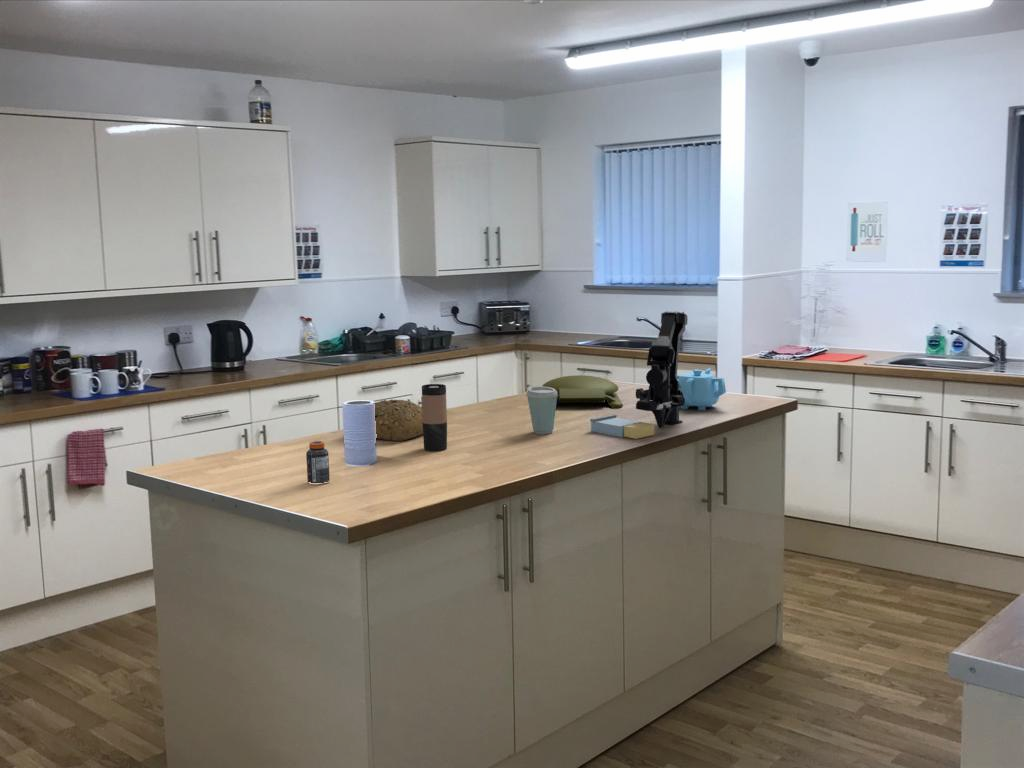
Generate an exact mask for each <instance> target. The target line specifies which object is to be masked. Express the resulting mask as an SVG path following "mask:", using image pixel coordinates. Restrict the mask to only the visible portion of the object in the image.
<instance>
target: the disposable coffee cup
mask: <svg viewBox="0 0 1024 768" xmlns="http://www.w3.org/2000/svg"><path fill="white" fill-rule="evenodd" d="M557 395H558V394H557V391H556V390H555V389H553V388H550V387H544V386H543V385H541V386H539V385H537V386H531V387H529V388H527V391H526V395H525V396H526V397H527V401H528V408H529V414H530V419H531V424H532V431H533V433H534V434H536V435H537V434H538V435H547V434H551V433H553V430H554V428H555V427H554V425H555V417H556V409H557V402H558V399H557Z"/></svg>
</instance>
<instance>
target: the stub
mask: <svg viewBox="0 0 1024 768" xmlns="http://www.w3.org/2000/svg"><path fill="white" fill-rule="evenodd" d="M639 422H640V423H636V424H632V425H627V426H624V437H623V438H629V439H636V440H637V439H641V438H647V437H650V436H655V424H654V423H648V422H644V421H639Z"/></svg>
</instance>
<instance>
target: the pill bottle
mask: <svg viewBox="0 0 1024 768" xmlns="http://www.w3.org/2000/svg"><path fill="white" fill-rule="evenodd" d="M325 447H326V446H325V442H324V441H322V440H316V441H315V440H314V441H310V442H309V449H308V450H307V451H306V454H305V455H306V457H305V458H306V473H307V474H306V475H307V483H308V482H311V483H324V482H328V481H329V480H331V479H330V459H329V458H330V457H329V451H328V449H326V448H325ZM329 482H330V481H329ZM329 482H328V483H329Z"/></svg>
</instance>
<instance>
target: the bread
mask: <svg viewBox="0 0 1024 768" xmlns="http://www.w3.org/2000/svg"><path fill="white" fill-rule="evenodd" d="M373 404H375V421H376V434H377V440H384V441H394V442H403V441H407V440H411V439H414V438H417V437H419V436H422V435H423V424H422V423H423V422H422V406H420V405H418V404H416V403H414V402H412V401H411V400H409V401H408V400H404V399H389V400H386V399H384V400H380V401H376V402H374V403H373Z"/></svg>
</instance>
